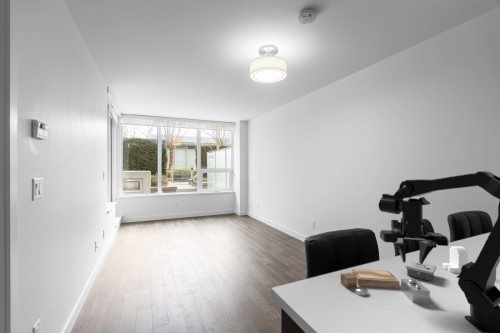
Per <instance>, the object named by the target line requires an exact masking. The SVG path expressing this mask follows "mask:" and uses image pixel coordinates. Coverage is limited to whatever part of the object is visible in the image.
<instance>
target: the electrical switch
mask: <svg viewBox="0 0 500 333" xmlns="http://www.w3.org/2000/svg"><path fill="white" fill-rule="evenodd" d="M404 268H405V269H406V271H407V273H406V275H407V276H410V277H413V278H417V279H421V280H424V281H425V280H426V281H430V282H431V281H432V279H433V278H434V276H435V275H434V274H435V272H436V271H437V265H435V264H430V263H426V262H423V264H420V262H419V261H417V260H412V259H409V260H408V261H407V262H406V264H405V265H404Z"/></svg>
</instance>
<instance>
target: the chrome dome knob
mask: <svg viewBox="0 0 500 333" xmlns="http://www.w3.org/2000/svg"><path fill="white" fill-rule="evenodd" d="M368 292H369V291H368V289H367V288H365V287H364V286H357V287H356V288H354V293H355V294H356V295H358V296H361V297H366V296H368Z"/></svg>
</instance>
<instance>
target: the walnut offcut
mask: <svg viewBox="0 0 500 333" xmlns="http://www.w3.org/2000/svg"><path fill="white" fill-rule="evenodd" d="M340 285H341V286H343V287H344V288H345V289H347V290H348V289H355V288H356V287H358V284H357V277H356V276H354V275H353V274H352V272H341V273H340Z"/></svg>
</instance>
